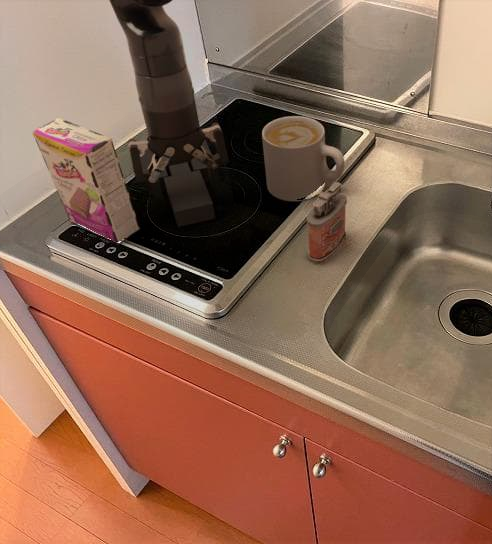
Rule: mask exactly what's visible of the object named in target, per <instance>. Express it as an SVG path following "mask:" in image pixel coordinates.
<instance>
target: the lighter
mask: <svg viewBox="0 0 492 544" xmlns="http://www.w3.org/2000/svg"><path fill="white" fill-rule="evenodd" d="M342 192H343V184H342V183H341V182H338V181H335V183H333V184H332V185H331V186H330V187H329V188H328V189H327V190H325V192H324V191H322V192H321V193H320V194H319V195H317V198H316V200H315V201H314V202H313V204H312V207H313V208H312V209H311V210H310V212H309V213H308V215H307V216H306V224H307V226H308V227H307V228H308V248H309V250H308V255H307V256H308V258H307V259H308V261H309V262H310V264H313V265H315V266H316V265H319V266H320V265H323V264H325V263H326V262H328V261H329V260H330V259H332V258H333V257H334V256H335V255H336V254H337V253H338V252H339V251H340V250H341V248H342V247H343V246H344V244H345V242H346V240H347V231H346V205H347V203H348V197H347V195H346V194H344V193H342Z"/></svg>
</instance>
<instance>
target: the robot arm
mask: <svg viewBox="0 0 492 544" xmlns="http://www.w3.org/2000/svg"><path fill="white" fill-rule="evenodd" d="M108 1H109V4H110V5H111V8H112V10H113V12H114V15H115V17H116V19H117V21H118V23H119V25H120V27H121V29H122V31H123V33H124V35H125V38H126V42H127V47H128V48H127V49H128V53H129V56H130V60H131V64H132V68H133V72H134V79H135V87H136V88H135V89H136V91H137V95H138V102H139V104H140V107H141V111H142V116H143V119H144V124H145V127H146V132H147V137H146V139H145V140H139V141H137V140H136V139H134V138H130V139H128V141H127V145H128V151H129V154H130V161H131V163H132V164H131V165H132V170H133V173H134V178H135V181H136V182H137V183H142V182H145V181H148V182H149V183H150V185H151V189H152V193H153V195H152V196H153V197H152V198H153V199H155V200H157V199H158V202H164V201H165V199H164V195H163V193H162V191H161V187H160V183H159V179H158V177H159V176H160V174H161V172H163V171H164V169H165V167H166V166H167V164H168V163H170V164H171V165H174V164H178V163H180V162H188V161H192V159H193V158H194V157H195V158H196V159H197V160H199V161H200V162H201V163H203V164H205V165H207V168H208V174H209V179H210V182H209V183H210V187H211V189H212V190H217V189H218V186H220V184H221V178H220V173H219V172H220V171H219V167H220V166H221V165H226V164H228V163H229V161H230V159H229V154H228V151H227V146H226V141H225V136H224V132H223V130H222V128H221V126H220V124H219V123H218V122H213V123H212V124H211V126H210V127H206V128H202V127H201V126H200V120H199V115H198V114H199V113H198V109H197V104H196V98H195V88H194V87H193V82H192V77H191V74H190V71H189V68H188V64H187V59H186V53H185V48H184V42H183V38H182V33H181V30H180V28H179V26H178V24H177V23H176V21H175V20H173V18H172V17H170V16H169V14H167V12H166V10H165V8H164V6H166V5H168V4H170V3H171V2H173V0H108ZM206 138H207V139H209V140H210V142H211V143H214V145H215V148H216V152H217V153H216V154H214V155H213V154H212V153H211V154H212V155H211V154H210V153H209V152H207V151H206V150H205V148H204V147H202V146H201V145H202V144H203V142H204V140H206ZM146 149H149V150H150V151H151V152H153V153H154V155H153V157H152V161H151V163H150V165H149V167H148V169H142V165H141V160H140V157H142V156H144V154H145V150H146Z"/></svg>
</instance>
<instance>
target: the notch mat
mask: <svg viewBox="0 0 492 544" xmlns="http://www.w3.org/2000/svg"><path fill="white" fill-rule="evenodd" d="M201 146H202V147H204V148H205V150H206V151H207V152H209V153H210V154H211V155H212V156H213V154H212V152H211V148H209V145H208V142H207V140H206V139H205V140H204V142H203V144H202V145H201ZM153 155H154V153H153V152H151V151H150V150H149V149H146V150H145V154H144V156H142V157H140V160H141V165H142V169H148V167H149V165H150V163H151V161H152V157H153ZM181 163H186V162H180V163H178V164H181ZM174 165H176V164H174ZM188 165H189V167H190V170H191V172H193V171H197V170H200V173H201V175H202V178H203V180H204V183H205V184H207V183H210V179H209V174H208V168H207V165H205V164H203V163H201V162H200V161H199V160H197V159H196V158H195V157H194V158H193V159H192V161H188ZM169 166H171V164H170V163H168V164H167V166H166V167H165V169H164V171H163V172H161V174H160V176H159V177H158V179H159V183H160V187H161V191H162V194H163V193H167V189H166V185H165V182H164V178H165V177H169V176H171V173H170V169H169ZM144 183H145V187H146V190H147V194H148V196H153V193H152V189H151V185H150V183H149V182H148V181H144Z"/></svg>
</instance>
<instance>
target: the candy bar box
mask: <svg viewBox="0 0 492 544" xmlns="http://www.w3.org/2000/svg"><path fill="white" fill-rule="evenodd" d="M32 136H33V137H34V139H35V142H36V144H37V147H38V149H39V152H40V154H41V156H42V158H43V161H44V163H45V166H46V168H47V170H48V174H49V175H50V177H51V180H52V182H53V184H54V187H55V189H56V191H57V193H58V196H59V199H60V201H61V204H62V206H63V208H64V210H65V213H66V216H67V218H68V220H69V221H70V220H71V221H74V222H76V223H78V224H81V225H83V226H85V227H86V228H88V229H90V230H92V231H94V232H96V233H98V234H100V235H102V236H104V237H106V238H109V239H111V240H112V241H115V242H119V241H120V240H122V239H124V238H126V239H124V240H123V241H121V242H120V243H119V244H116V243H114V242H112V241H110V240H108V239H106V238H104V240H105V239H106V240H107V241H109V242H111V243H113V244H115V245H118V246H119V245H120V244H122V243H123V242H126V240H127V239H128V238H130V237H131V236H133V235H134V234H135V233H136V232H138V231H139V230H140V228H141V227H140V224H139V222H138V221H139V220H138V218H137V215H136V212H135V209H134V205H133V202H132V199H131V197H130V193H129V192H130V191H129V190H128V187H127V183H126V181H125V177H124V174H123V171H122V167H121V164H120V161H119V157H118V155H117V152H116V149H115V145H114V142H113V139H112V137H109V136H106V135H104V134H101V133H99V132H96V131H93V130H90V129H88V128H86V127H83V126H80V125H79V124H76V123H73V122H70V121H68V120H66V119H63V118H60V117H57V118H55V119H54V120H52V121H50V122H48V123H46V124H44V125H43V126H40V127H38V128H36V129H35V130H34V131H32ZM70 223H71V224H73V223H72V222H70ZM83 229H84V230H87V229H85V228H83ZM87 231H88V230H87Z"/></svg>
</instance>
